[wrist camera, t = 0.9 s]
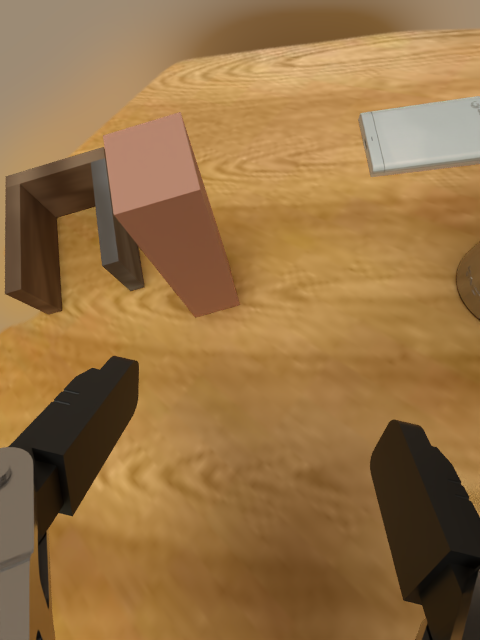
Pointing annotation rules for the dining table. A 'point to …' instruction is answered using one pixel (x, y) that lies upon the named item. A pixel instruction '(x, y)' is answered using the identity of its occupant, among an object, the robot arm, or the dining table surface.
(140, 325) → the dining table surface
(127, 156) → the reddish pink rectangular block
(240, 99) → the dining table surface
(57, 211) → the book slot
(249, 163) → the dining table surface
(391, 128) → the hard drive
